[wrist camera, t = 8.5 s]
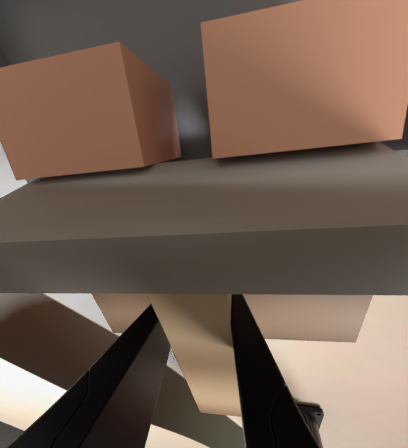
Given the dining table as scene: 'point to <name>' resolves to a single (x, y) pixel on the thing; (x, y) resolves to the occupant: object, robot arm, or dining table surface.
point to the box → (136, 47)
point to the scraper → (214, 241)
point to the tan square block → (306, 76)
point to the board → (267, 314)
